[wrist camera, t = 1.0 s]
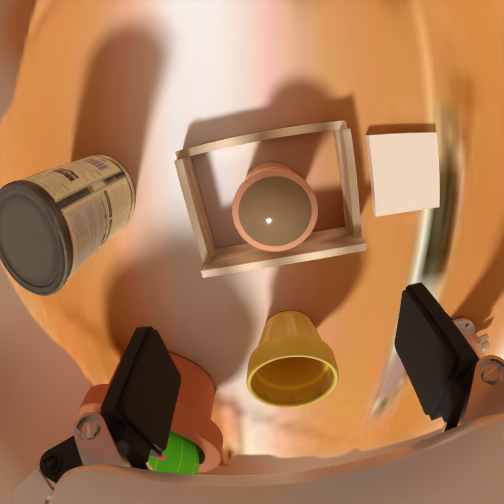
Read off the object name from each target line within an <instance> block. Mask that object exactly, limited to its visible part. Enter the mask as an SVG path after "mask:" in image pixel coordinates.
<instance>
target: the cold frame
mask: <svg viewBox="0 0 504 504" xmlns="http://www.w3.org/2000/svg"><path fill="white" fill-rule="evenodd" d="M328 130H333V131H334V137H335V144H336V150H337V157H338V165H339V172H340V180H341V189H342V198H343V208H344V219H345V227H340V228H334V229H328V230H322V231H316V232H311V233H310V235H309V236H308V237H307V238H306V239H305V240H304V241H303V242H302V243H300V244H299V245H297V246H295V247H293V248H291V249H288V250H284V251H277V252H272V251H265V250H261V249H258V248H256V247H254V246H252V245H251V244H249V243H246V244H240V245H234V246H229V247H223V248H217V249H215V245H214V242H213V238H212V234H211V231H210V227H209V223H208V219H207V216H206V212H205V208H204V204H203V200H202V197H201V193H200V189H199V185H198V181H197V177H196V173H195V169H194V165H193V161H192V157H191V156H193V155H197V154H201V153H205V152H209V151H213V150H218V149H222V148H226V147H231V146H236V145H241V144H246V143H251V142H256V141H261V140H267V139H272V138H278V137H284V136H291V135H297V134H304V133H312V132H320V131H328ZM176 156H177V160H175V161H174V162H175V166H176V169H177V173H178V177H179V181H180V185H181V188H182V192H183V196H184V199H185V203H186V207H187V210H188V214H189V217H190V221H191V224H192V228H193V231H194V235H195V238H196V241H197V245H198V248H199V251H200V255H201V258H202V261H203V266H202V269H201V274H202V277H203V278H206V277H212V276H219V275H225V274H231V273H237V272H244V271H250V270H256V269H262V268H268V267H274V266H280V265H286V264H292V263H298V262H304V261H310V260H315V259H321V258H327V257H332V256H338V255H344V254H349V253H355V252H360V251H366V243H365V241H364V240H363V239H362V238H361V223H360V208H359V195H358V184H357V175H356V166H355V157H354V150H353V143H352V136H351V129H347V124H346V121H332V122H323V123H314V124H306V125H299V126H292V127H286V128H279V129H273V130H268V131H262V132H257V133H251V134H246V135H241V136H237V137H232V138H227V139H223V140H218V141H214V142H210V143H206V144H202V145H198V146H194V147H190V148H186V149H183V150H180V151H177V152H176Z"/></svg>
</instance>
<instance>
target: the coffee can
mask: <svg viewBox="0 0 504 504" xmlns="http://www.w3.org/2000/svg"><path fill="white" fill-rule="evenodd" d="M134 206H135V191H134V187H133V183H132V180H131V178H130V176H129V174H128V172H127V171H126V169H125V168H124V167H123V166H122V165H121V163H119V162H118V161H116V160H115V159H113V158H111V157H109V156H106V155H91V156H88V157H86V158H83V159H80V160H76V161H73V162H70V163H67V164H64V165H61V166H58V167H55V168H52V169H49V170H46V171H43V172H40V173H37V174H35V175H32V176H30V177H27V178H25V179H22V180H18V181H13V182H11V183H8V184H6V185H5V186H3V187H2V188H1V189H0V259H1V261H2V263H3V265H4V266H5V268H6V269H7V271H8V272H9V273H10V275H11V276H12V277H13V278H14V279H15V280H16V281H17V282H18V283H19V284H20V285H21V286H22V287H23V288H25V289H26V290H28V291H30V292H32V293H34V294H37V295H41V296H49V295H52V294H54V293H56V292H58V291H59V290H60V289H61V288H62V286H63V285H64V284H65V282H66V281H67V279H68V278H69V277H70V276H71V275H72V274H73V273H74V272H75V271H76V270H77V269H78V268H79V267H80V266H81V265H83V264H84V263H85V262H86V261H87V260H88V259H89V258H90V257H91V256H92V255H93V254H94V253H95V252H96V251H97V250H98V249H99V248H100V247H101V246H103V245H104V244H105V243H106V242H107V241H108V240H109V239H110V238H111V237H112V236H114V235H115V234H116V233H117V232H118V231H120V230H121V229H122V228H124V227H125V226H126V225H127V223H128V222H129V220H130V218H131V216H132V214H133V211H134Z"/></svg>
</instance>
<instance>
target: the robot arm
mask: <svg viewBox="0 0 504 504" xmlns="http://www.w3.org/2000/svg"><path fill="white" fill-rule="evenodd" d="M487 340H488V334H484V335H481V336H480V337H478V336H477V335H476V334H475V326H474V324H473V323H472V321H471V320H470V319H467V318H457V319H455V320H452V319H451V318H450V317H449V315H448V314H447V313H446V312H445V311H444V310H443V308H442V307H441V306H440V304H439V303H438V302H437V301H436V299H435V298H434V297H433V296H432V294H431V293H430V292H429V291H428V290H427V288H426V287H425V286H424V285H423V284H422V283H416V284H412V285H408V286H407V287H406V290H404V291H403V292H402V299H401V306H400V313H399V319H398V325H397V331H396V337H395V348H396V351H397V353H398V355H399V357H400V359H401V361H402V363H403V365H404V368H405V370H406V372H407V374H408V376H409V378H410V381H411V383H412V385H413V387H414V390H415V392H416V394H417V396H418V399H419V401H420V403H421V406H422V408H423V411H424V413H425V414H426V415H430V418H431V420H434V419H437V418H439V417H441V416H442V418H443V420H444V422H445V423H444V426H443V429H442V431H441V433H440V434H438V435H436V436H433V437H430V438H428V439H425V440H423V441H420V442H417V443H414V444H411V445H408V446H406V447H403V448H400V449H397V450H394V451H390V452H387V453H384V454H380V455H377V456H374V457H370V458H366V459H362V460H358V461H354V462H349V463H345V464H340V465H336V466H330V467H324V468H319V469H312V470H306V471H299V472H290V473H280V474H269V475H268V474H267V475H249V476H209V475H207V476H206V475H191V474H179V473H169V472H160V471H154V470H153V468H152V467H151V465H150V464H149V462H148V459H149V456H156V457H161V456H162V451H165V450H166V447H167V443H168V438H169V434H170V429H171V425H172V420H173V415H174V411H175V407H176V402H177V398H178V394H179V389H180V385H181V374H180V372H179V371H178V369H177V367H176V365H175V363H174V362H173V360H172V358H171V356H170V354H169V352H168V350H167V349H166V347H165V345H164V343H163V341H162V339H161V337H160V335H159V333H158V331H157V330H154V329H153V328H152V327H151V326H148V327H138V328H136V330H135V332H134V334H133V336H132V338H131V340H130V342H129V344H128V346H127V349H126V351H125V353H124V355H123V357H122V359H121V362H120V364H119V366H118V368H117V370H116V373H115V375H114V377H113V379H112V382H111V384H110V386H109V389H108V391H107V393H106V396H105V398H104V401H103V403H102V405H101V408H100V409H101V412H100V414H99V413H96V412H88V413H85V414H83V415H82V416H80V417H79V418H78V420H77V421H76V423H75V424H74V429H73V433H74V436H72V437H70V438H69V439H67V440H65V441H64V442H62V443H60V444H58V445H57V446H55V447H53V448H51V449H49V450H48V451H46V452H45V453H44V454H43V456H42V457H41V460H40V470H39V469H38V468H36V469H35V470H34V471H33V472H32V473H31V474H30V475H29V476H28V477H27V478H26V479H25V480H24V481H23V482H22V483H21V484H20V485H19V486H18V487H17V488H16V490H15V491H14V494H13V501H14V504H504V360H503V359H501V358H500V357H497V356H495V355H488V356H486V355H485V354H484V352H483V351H485V350H487V349H489V342H488V341H487Z"/></svg>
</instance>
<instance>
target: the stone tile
mask: <svg viewBox="0 0 504 504" xmlns="http://www.w3.org/2000/svg"><path fill="white" fill-rule="evenodd" d="M365 137H366V144H367V152H368V161H369V170H370V181H371V194H372V209H373V215H375V216H376V217H377V216H383V215H390V214H396V213H402V212H409V211H416V210H422V209H429V208H436V207H439V195H440V188H439V157H438V143H437V133H436V132H409V133H388V134H373V135H365Z"/></svg>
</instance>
